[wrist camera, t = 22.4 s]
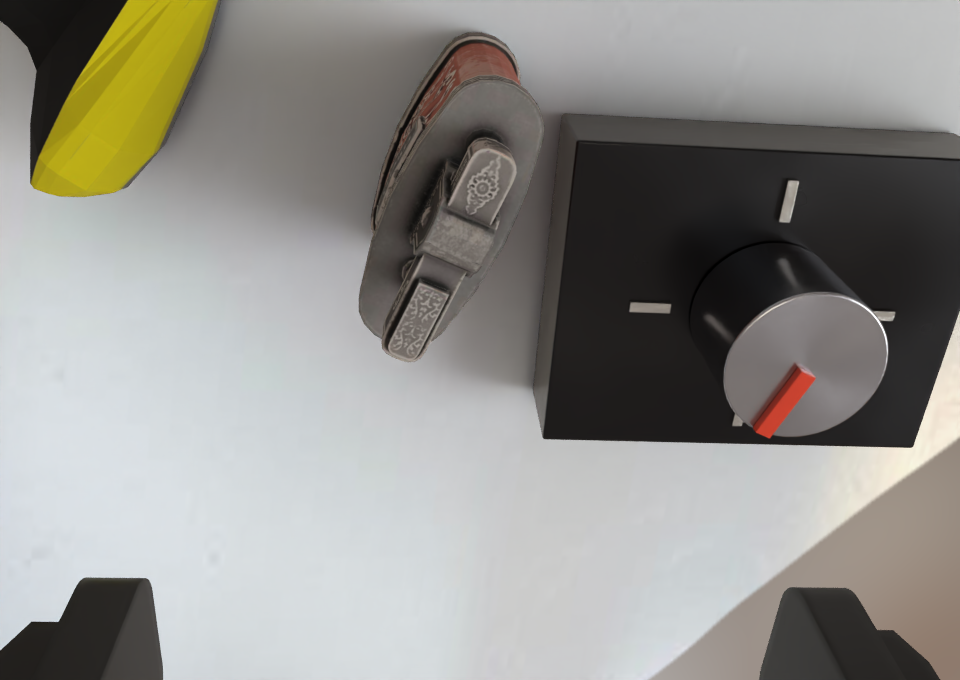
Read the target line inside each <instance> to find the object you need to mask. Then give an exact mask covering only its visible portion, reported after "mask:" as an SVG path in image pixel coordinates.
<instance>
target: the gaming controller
mask: <svg viewBox="0 0 960 680" xmlns="http://www.w3.org/2000/svg"><path fill="white" fill-rule="evenodd" d="M220 4H221V0H0V21H1V22H3V23H4V24H5V25H6V26H8V27H9V28H10V29H11V30H12V31H13V32H14V33H15V34H16V35H17V37H18V38H19V39H20V40H21V41H22V42H23V43H24V44H25V45H26V46H27V47H28V50H29V52H30V55H31V57H32V60H33V62H34V65H35V67H36V70H37V72H36V81H35V89H34V97H33V106H32V114H31V123H30V183H31V185H32V186H33V188H34V189H37V190H40V191H42V192H45V193H48V194H52V195H56V196H67V197H87V196H94V195H101V194H108V193H114V192H116V191H119V190H121V189H124V188H126V187H128V186H129V185H130V184H131V183H132V181H133V180H134V179H135V178H136V177H137V176H138V175H139V173H140V172H141V171H142V170H143V169H144V168H145V166H146V165H147V164H148V163H149V162H150V161H151V160H152V158H153V157H154V156H155V155H156V154H157V153H158V151H159V150H160V149H161V148H162V147H163V146H164V145H165V143H166V141H167V139H168V137H169V135H170V132H171V130H172V128H173V125H174V123H175V121H176V119H177V116H178V114H179V112H180V109H181V107H182V105H183V103H184V100H185V98H186V96H187V94H188V91H189V89H190V87H191V84H192V82H193V80H194V78H195V75H196V73H197V71H198V68H199V66H200V64H201V62H202V59H203V57H204V55H205V52H206V50H207V48H208V45H209V42H210V38H211V35H212V31H213V28H214V24H215V21H216V18H217V14H218V11H219V7H220Z"/></svg>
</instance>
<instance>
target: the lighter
mask: <svg viewBox="0 0 960 680" xmlns="http://www.w3.org/2000/svg"><path fill="white" fill-rule="evenodd" d="M543 134H544V123H543V119H542V116H541V113H540V109H539V107H538V105H537V103H536V102H535V100H534V99H533V98H532V96H531V95H530V94H529V92H528V91H527V90H526V89H525V88H523V87H522V86H521V84H520V71H519V67H518V64H517V61H516V59H515V57H514V55H513V54H512V52H511V51H510V49H509V48H508V47H507V45H506V44H504V43H503V42H502V41H500V40H499V39H497V38H496V37H494V36H491V35H488V34H485V33H482V32H473V33H466V34H463V35H460V36H458V37H455V38H454V39H453V40H452V41H451V42H450V43H449V44H448V45H447V46H446V47H445V49H444V50H443V52H442V53H441V55H440V56H439V57H438V59H437V60H436V62H435V63H434V64H433V66H432V67H431V69H430V70H429V72H428V73H427V74H426V76H425V77H424V79H423V80H422V81H421V83H420V84H419V86H418V88H417V90H416V92H415V94H414V96H413V97H412V99H411V101H410V103H409V105H408V107H407V109H406V110H405V112H404V114H403V116H402V118H401V120H400V122H399V123H398V125H397V128H396V131H395V133H394V136H393V139H392V142H391V144H390V147H389V150H388V153H387V155H386V158H385V161H384V164H383V166H382V169H381V174H380V178H379V183H378V187H377V191H376V196H375V200H374V205H373V209H372V215H371V230H372V232H373V237H372V240H371V244H370V249H369V253H368V258H367V262H366V266H365V271H364V275H363V279H362V284H361V288H360V294H359V313H360V315H361V318H362V320H363V322H364V324H365V325H366V326H367V328H368V329H369V330H370V331H371V332H372V333H373V334H374V335H376V336H377V337H379V338H381V339H382V349H383V350H384V351H385V353H386V354H388V355H390V356H392V357H394V358H396V359H399V360H401V361H405V362H415V361H417V360H418V359H420V358H421V357H422V356H423V354H424V353H425V351H426V350H427V348H428V346H429V344H430V342H431V341H433V340H434V339H436V338H437V337H438V336H439V335H440V334H442V333H443V331H444V330H445V329H446V328H447V326H448V325H449V324H450V323H451V322H452V320H453V319H454V318H455V317H456V315H457V314H458V313H459V312H460V310H461V309H462V308H463V307H464V306H465V304H466V303H467V302H468V301H469V299H470V298H471V297H472V296H473V294H474V293H475V291H476V290H477V288H478V287H479V285H480V283H481V282H482V280H483V279H484V277H485V275H486V274H487V272H488V271H489V269H490V267H491V266H492V264H493V263H494V261H495V259H496V258H497V256H498V255H499V253H500V251H501V250H502V248H503V246H504V244H505V242H506V240H507V237H508V235H509V233H510V231H511V228H512V226H513V224H514V222H515V219H516V217H517V215H518V212H519V210H520V208H521V206H522V203H523V201H524V199H525V197H526V194H527V191H528V188H529V184H530V181H531V178H532V174H533V171H534V168H535V165H536V161H537V158H538V155H539V152H540V148H541V145H542V142H543Z"/></svg>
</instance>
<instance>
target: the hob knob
mask: <svg viewBox="0 0 960 680" xmlns="http://www.w3.org/2000/svg"><path fill="white" fill-rule="evenodd" d="M690 327H691V333H692V337H693V340H694V342H695V344H696V346H697V348H698V350H699V352H700V354H701V355H702V357H703V359H704V361H705V363H706V364H707V366H708V368H709V370H710V371H711V373H712V375H713V377H714V378H715V380H716V382H717V384H718V386H719V387H720V389H721V391H722V393H723V394H724V396H725V398H726V400H727V401H728V403H729V405H730V407H731V408H732V410H733V411H734V412H735V414H736V415H737V416H738V417H739V418H740V419H741V420H742V421H743V422H745V423H746V424H747V425H749V426H750V427H752V428H753V429H754V431H755V432H756V433H758V434H760V435H763V436H765V437H767V438H770V437H771V436H772V435H774V436H782V437H799V436H807V435H811V434H816V433H819V432H822V431H825V430H828V429H830V428H832V427H834V426H836V425H838V424H840V423H842V422H843V421H845V420H847V419H848V418H850V417H851V416H852V415H854V414H855V413H856V412H857V411H858V410H860V409H861V408H862V407H863V406H864V405H865V404H866V403H867V401H868V400H869V399H870V398H871V397H872V395H873V394H874V393H875V391H876V390H877V388H878V386H879V384H880V383H881V381H882V378H883V376H884V373H885V370H886V366H887V362H888V340H887V335H886V332H885V329H884V327H883V324H882V323H881V321H880V319H879V318H878V316H877V315H876V314H875V313H874V312H873V311H872V310H871V309H870V308H869V307H868V306H867V305H866V304H865V303H864V302H863V301H862V300H861V299H860V298H859V297H858V296H857V295H856V294H855V293H854V292H853V291H852V290H851V289H850V288H849V287H848V286H847V285H846V284H845V283H844V282H843V281H842V280H841V279H840V278H839V277H838V276H837V275H836V274H835V273H834V272H833V271H832V270H831V269H830V268H829V267H828V266H827V265H826V264H825V263H824V262H823V261H822V260H821V259H820V258H819V257H817V256H816V255H815V254H813V253H812V252H810V251H809V250H807V249H804V248H802V247H800V246H796V245H792V244H786V243H766V244H759V245H755V246H751V247H748V248H745V249H743V250H740V251H738V252H736V253H734V254H732V255H731V256H729V257H728V258H726V259H725V260H723V261H722V262H721V263H720V264H718V265H717V266H716V267H715V268H714V269H713V270H712V271H711V272H710V273H709V274H708V275H707V277H706V278H705V279H704V281H703V282H702V284H701V285H700V287H699V289H698V291H697V293H696V295H695V298H694V301H693V304H692V308H691V314H690Z"/></svg>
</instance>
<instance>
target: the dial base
mask: <svg viewBox="0 0 960 680" xmlns="http://www.w3.org/2000/svg"><path fill="white" fill-rule="evenodd" d="M766 243H786V244H792V245H796V246H800V247H802V248H804V249H807V250H809V251H810V252H812V253H813V254H815V255H816V256H817V257H819V258H820V259H821V260H822V261H823V262H824V263H825V264H826V265H827V266H828V267H829V268H830V269H831V270H832V271H833V272H834V273H835V274H836V275H837V276H838V277H839V278H840V279H841V280H842V281H843V282H844V283H845V284H846V285H847V286H848V287H849V288H850V289H851V290H852V291H853V292H854V293H855V294H856V295H857V296H858V297H859V298H860V299H861V300H862V301H863V302H864V303H865V304H866V305H867V306H868V307H869V308H870V309H871V310H872V311H873V312H874V313H875V314H876V315H877V316H878V318H879V319H880V321H881V323H882V324H883V327H884V329H885V332H886V335H887V340H888V362H887V366H886V370H885V373H884V376H883V378H882V381H881V383H880V384H879V386H878V388H877V390H876V391H875V393H874V394H873V395H872V397H871V398H870V399H869V400H868V401H867V403H866V404H865V405H864V406H863V407H862V408H861V409H860V410H858V411H857V412H856V413H855V414H854V415H852V416H851V417H850V418H848V419H847V420H845V421H843V422H842V423H840V424H838V425H836V426H834V427H832V428H830V429H828V430H825V431H822V432H819V433H816V434H811V435H807V436H799V437H782V436H774V435H772V436H771V437H770V438H767V437H765V436H763V435H760V434H758V433H756V432H755V431H754V429H753V428H752V427H750V426H749V425H747V424H746V423H745V422H743V421H742V420H741V419H740V418H739V417H738V416H737V415H736V414H735V412H734V411H733V410H732V408H731V407H730V405H729V403H728V401H727V400H726V398H725V396H724V394H723V393H722V391H721V389H720V387H719V386H718V384H717V382H716V380H715V378H714V377H713V375H712V373H711V371H710V370H709V368H708V366H707V364H706V363H705V361H704V359H703V357H702V355H701V354H700V352H699V350H698V348H697V346H696V344H695V342H694V340H693V337H692V333H691V327H690V314H691V308H692V304H693V301H694V298H695V295H696V293H697V291H698V289H699V287H700V285H701V284H702V282H703V281H704V279H705V278H706V277H707V275H708V274H709V273H710V272H711V271H712V270H713V269H714V268H715V267H716V266H717V265H718V264H720V263H721V262H722V261H723V260H725V259H726V258H728V257H729V256H731V255H732V254H734V253H736V252H738V251H740V250H743V249H745V248H748V247H751V246H755V245H759V244H766ZM959 311H960V136H958V135H956V134H954V133H934V132H915V131H895V130H876V129H856V128H837V127H817V126H798V125H779V124H759V123H740V122H720V121H701V120H681V119H662V118H642V117H623V116H603V115H584V114H563V115H562V118H561V127H560V137H559V146H558V156H557V165H556V175H555V184H554V194H553V203H552V213H551V222H550V232H549V241H548V251H547V260H546V270H545V279H544V289H543V298H542V308H541V317H540V327H539V336H538V346H537V355H536V365H535V374H534V384H533V393H534V398H535V402H536V407H537V412H538V417H539V422H540V427H541V432H542V437H543V439H561V440H604V441H647V442H690V443H732V444H775V445H818V446H861V447H904V448H911V447H913V445H914V442H915V439H916V436H917V433H918V431H919V428H920V425H921V422H922V419H923V416H924V413H925V410H926V407H927V404H928V401H929V399H930V396H931V393H932V390H933V387H934V384H935V381H936V378H937V375H938V372H939V369H940V366H941V364H942V361H943V358H944V355H945V352H946V349H947V346H948V343H949V340H950V337H951V334H952V331H953V329H954V326H955V323H956V320H957V317H958V314H959Z"/></svg>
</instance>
